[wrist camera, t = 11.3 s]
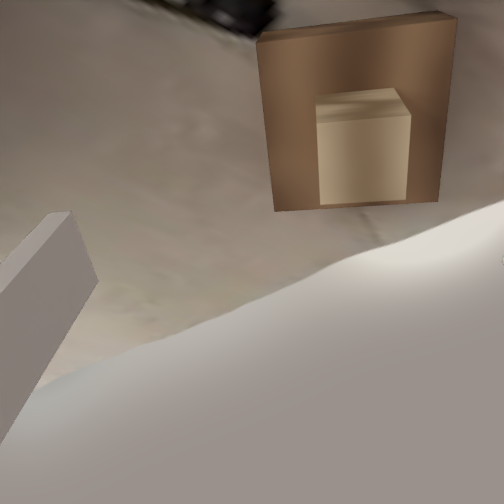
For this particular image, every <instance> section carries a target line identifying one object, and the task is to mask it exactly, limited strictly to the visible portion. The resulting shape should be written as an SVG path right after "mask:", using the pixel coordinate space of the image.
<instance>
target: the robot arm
mask: <svg viewBox="0 0 504 504" xmlns="http://www.w3.org/2000/svg"><path fill="white" fill-rule="evenodd" d="M502 263H503V265H504V256H503V261H502ZM97 283H98V279H97V276H96V273H95V271H94V268H93V266H92V263H91V260H90V258H89V255H88V252H87V250H86V247H85V245H84V242H83V239H82V237H81V234H80V232H79V229H78V226H77V224H76V221H75V219H74V216H73V213H72V211H67V212H53V213H48V214H47V215H46V216H45V217H44V219H43V220H42V221H41V222H40V223H39V224H38V225H37V226H36V227H35V228H34V229H33V230H32V231H31V232H30V233H29V234H28V235H27V237H26V238H25V239H24V240H23V241H22V242H21V243H20V244H19V245H18V246H17V247H16V248H15V249H14V250H13V251H12V252H11V253H10V254H9V256H8V257H7V258H6V259H5V260H4V261H3V262H2V263H1V264H0V444H1V443H2V441H3V439H4V438H5V436H6V434H7V432H8V431H9V429H10V427H11V426H12V424H13V423H14V421H15V419H16V418H17V416H18V414H19V412H20V411H21V409H22V408H23V406H24V404H25V403H26V401H27V399H28V398H29V396H30V394H31V393H32V391H33V389H34V388H35V386H36V384H37V383H38V381H39V379H40V378H41V376H42V374H43V373H44V371H45V369H46V368H47V366H48V364H49V363H50V361H51V359H52V358H53V356H54V354H55V353H56V351H57V349H58V348H59V346H60V344H61V343H62V341H63V339H64V338H65V336H66V335H67V333H68V331H69V330H70V328H71V326H72V325H73V323H74V321H75V320H76V318H77V316H78V315H79V313H80V311H81V310H82V308H83V306H84V305H85V303H86V301H87V300H88V298H89V296H90V295H91V293H92V291H93V290H94V288H95V286H96V285H97Z"/></svg>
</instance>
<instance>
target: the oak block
mask: <svg viewBox="0 0 504 504" xmlns="http://www.w3.org/2000/svg"><path fill="white" fill-rule="evenodd" d="M315 101H316V124H317V146H318V167H319V189H320V205H325V204H342V203H358V202H375V201H391V200H406V187H407V172H408V157H409V143H410V128H411V114H410V112H409V111H408V109H407V108H406V106H405V104H404V103H403V101H402V100H401V98H400V97H399V95H398V94H397V92H396V90H395V89H394V88H386V89H376V90H365V91H355V92H345V93H335V94H324V95H315Z"/></svg>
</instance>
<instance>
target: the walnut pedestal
mask: <svg viewBox="0 0 504 504" xmlns="http://www.w3.org/2000/svg"><path fill="white" fill-rule="evenodd" d="M456 28H457V18H454V17H452V16H450V15H447V14H445V13H443V12H440V11H438V10H436V11H428V12H420V13H412V14H404V15H396V16H388V17H380V18H372V19H364V20H356V21H348V22H340V23H332V24H324V25H316V26H308V27H300V28H292V29H284V30H276V31H268V32H262V34H261V36H260V37H259V39H258V41H257V42H256V49H257V58H258V67H259V76H260V85H261V94H262V103H263V112H264V121H265V130H266V139H267V148H268V157H269V166H270V175H271V184H272V193H273V202H274V211H275V212H279V211H295V210H311V209H327V208H343V207H359V206H375V205H391V204H408V203H424V202H438V197H439V187H440V178H441V168H442V159H443V150H444V140H445V131H446V122H447V112H448V103H449V93H450V84H451V75H452V65H453V56H454V46H455V37H456ZM386 88H394V89H395V90H396V92H397V94H398V95H399V97H400V98H401V100H402V101H403V103H404V104H405V106H406V108H407V109H408V111H409V112H410V114H411V128H410V143H409V157H408V172H407V187H406V200H391V201H375V202H358V203H342V204H325V205H320V189H319V167H318V146H317V124H316V101H315V95H324V94H335V93H345V92H355V91H365V90H376V89H386Z"/></svg>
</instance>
